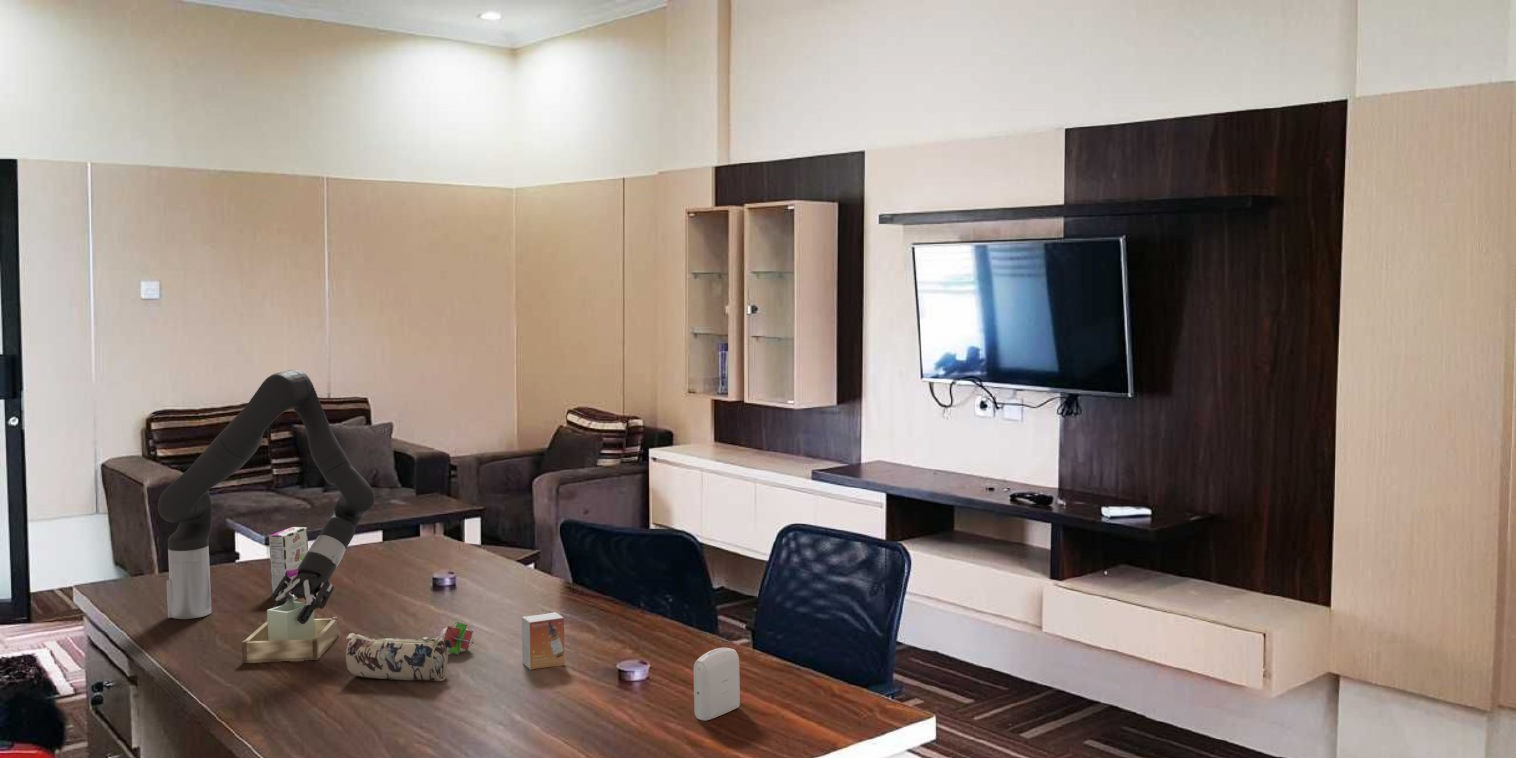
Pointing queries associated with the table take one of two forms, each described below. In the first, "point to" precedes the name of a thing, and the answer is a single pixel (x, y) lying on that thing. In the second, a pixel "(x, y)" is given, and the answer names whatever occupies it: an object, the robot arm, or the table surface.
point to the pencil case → (397, 658)
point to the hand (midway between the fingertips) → (286, 620)
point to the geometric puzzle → (457, 637)
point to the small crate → (289, 623)
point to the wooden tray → (289, 644)
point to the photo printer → (716, 683)
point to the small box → (543, 640)
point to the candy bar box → (287, 553)
